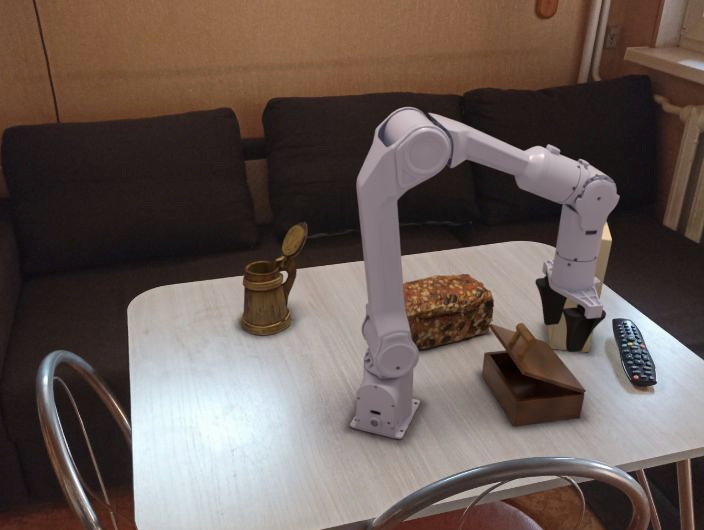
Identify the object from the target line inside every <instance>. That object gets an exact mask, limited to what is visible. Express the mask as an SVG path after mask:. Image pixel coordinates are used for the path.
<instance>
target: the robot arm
mask: <svg viewBox="0 0 704 530" xmlns="http://www.w3.org/2000/svg"><path fill="white" fill-rule="evenodd" d="M427 114H428V115H429V117H430V118H431V120H430V119H429V118H428V117H427V115H426V114H425V113H424V112H423V111H422V110H420V109H418V108H417V107H412V106H405V107H404V106H403V107H400V108H398V109H396V110H394V111H392V112H391V113H390V114H389V115H388V116H387V117H386V118H385V119H384V120H383V121H382V122H381V123H379V125H378V126H377V127H376V128H375V130H374V135H373V141H372V144H371V147H370V149H369V150H368V153H367V155H366V157H365V159H364V162H363V163H362V164H363V165H362V166H361V168H360V171H359V173H358V175H357V178H356V185H355V187H356V195H357V196H356V197H357V206H358V217H359V226H360V234H361V236H360V237H361V244H362V254H363V264H364V266H363V267H364V274H365V285H366V293H367V303H365V316H364V319H363V321H362V323H361V328H360V329H361V330H360V331H361V335H362V338H363V339H364V341H365V342H366V345H367V348H366V351H365V353H364V357H363V377H362V381H361V383H360V385H359V387H358V389H357V391H356V394H355V396H356V397H355V409H356V410H355V415H354V417H353V419H352V420H351V422H350V424H349V426H350V428H352V429H356V430H359V431H364V432H367V433H372V434H374V435H375V434H376V435H379V436H384V437H388V438H393V439H396V440H402V439H404V437H405V434H406V432H407V430H408V428H409V427H410V425H411V422H412V420H413V418H414V417H415V415H416V412H417V411H418V408H419V407H420V405H421V400H419V399H416V398H413V392H414V391H413V390H414V369H415V368H416V367H417V365H418V363H419V360H420V351H419V349H417V347H416V345H415V344H414V342H413V341H412V339H411V333H410V327H409V323H408V319H407V315H406V311H405V304H404V290H403V284H404V278H403V264H402V250H401V236H400V223H399V210H398V209H399V208H398V200H399V199H400V198H401V197H402V196H403V195H404V194H405V193H406V192H407V191H409V190H411V189H413V188H414V187H416V186H418V185H420V184H421V183H423V182H425V181H427V180H429V179H431V178H433V177H434V176H436V175H437V174H439V173H440V172H441V171H442V170H443V169H444V168H445V167H446V165H447V166H448V167H449V169H454V168H456V167H457V166H458V165H461V163H463V162H464V161H466V160H467V161H470V162H473V163H477V164H479V165H483V166H486V167H488V168H491V169H495V170H496V171H500V172H503V173H506V174H509V175H512V176H513V177H514V179H515V183H516V185H517V187H518V188H519V189H520V190H523V191H526V192H528V193H531V194H534V195H536V196H539V197H541V198H544V199H546V200H549V201H551V202H554V203H557V204H560V205H562V207H561V214H560V218H559V219H560V220H559V225H558V232H557V238H556V245H555V252H554V256H553V257H554V258H553V259H547V260H543V264H542V270H541V271H542V273H543V274H544V275H545V276H544V277H540V278H539V277H538V278H536V279H535V281H534V282H535V286H536V288H537V290H538V293H539V297H540V301H541V308H542V309H541V310H542V317H543V318H542V319H543V323H544V325H545V326H547V325H554V324H559V322H560V320H561V317H562V313H563V314H564V317H565V320H566V327H567V335H566V348H567V350H566V352H568V353H575V352H579V351H582V349H583V347H584V345H585V343H586V341H587V339H588V338H589V336H590V334H591V333H592V331H593V332H594V330H595V329H596V327H597V326H598V325H599V324H600V323H601V322H602V321H604V320H605V319H606V318H607V317H606V316H607V312H606V310H604V309H603V308H604V304H603V303H602V302H601V300H599V298H598V295H597V291H596V288H595V287H596V286H599V285H600V280H598V279H597V278H596V277H595V271H596V265H597V260H598V255H599V250H600V244H601V239H602V234H603V228H604V225H606V222H607V220H608V217H609V215H610V214H611V212H612V211H613V210H614V209H615V208H616V206H617V205H618V203H619V200H620V198H621V197H620V195H619V194H618V193H617V192H618V191H617V185H616V183H615V181H614V180H613V178H611V177H610V176H609V175H607V174H605V173H604V172H603V171H601V170H599V169H598V168H596V167H595V166H593V165H591V164H590V163H589V162H588V161H586V160H585V159H581V158H578V160H574V159H572V158H570V157H568V156H565V155H563V154H560V153H561V150H560V149H559V148H558V147H557V146H554V145H553V144H552V145H551V144H547V145H546V147H543V146H541V145H536V146H532V147H530V148H527V149H526V150H522V149H520V148H518V147H515V146H514V145H511V144H509V143H507V142H504V141H502V140H500V139H498V138H496V137H494V136H492V135H489V134H487V133H485V132H483V131H480V130H478V129H475V128H474V127H472V126H469V125H467V124H465V123H462V122H460V121H458V120H455V119H451V118H448V117H446V116H444V115H443V116H442V115H440V114H438V113H437V114H436V113H432V112H427ZM567 298H569V299H570V300H572V301H574V302H576V303H578V305H577V308H576V307H574V308H565V309H564V305H565V302H566V300H567Z"/></svg>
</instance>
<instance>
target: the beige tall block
mask: <svg viewBox="0 0 704 530" xmlns="http://www.w3.org/2000/svg"><path fill="white" fill-rule="evenodd" d="M612 241H613V239H612V235H611V232H610V228H609V225H608V221H606V225H604V228H603V234H602V239H601V244H600V250H599V255H598V260H597V265H596V271H595V277H596V278H597V279H598V280H600V285H599V286H596V287H595V288H596V291H597V295H598V298H599V300H600V299H601V295H602V290H603V287H604V286H603V285H604V280H605V276H606V272H607V267H608V263H609V257H610V253H611V247H612V244H613V243H612ZM600 301H601V300H600ZM577 305H578V303H576V302H574V301H572V300H570V299H569V298H567V300H566V302H565V305H564V309H565V308H574V307H576V308H577ZM546 326H547V327H546V329H547V338H548V344H549V346H550V347H551V348H552V349H553V350H561V351H567V348H566V335H567V327H566V320H565V317H564V314H563V313H562V317H561V320H560V322H559V324H554V325H546ZM593 334H594V330H593V331H592V333H591V334H590V336H589V338H588V339H587V341H586V343H585V345H584V347H583V349H582V351H578V353H579V352H580V353H589V352H590V347H591V343H592V338H593Z"/></svg>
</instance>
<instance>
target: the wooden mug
mask: <svg viewBox="0 0 704 530" xmlns="http://www.w3.org/2000/svg"><path fill="white" fill-rule="evenodd" d="M307 237H308V223H307V222H306V221H304V222H299V223H296V224H295V225H293V226H292V227H290V229H289V230H288V231H287V232H286V234H285V236H284V238H283V241H282V246H281V254H280V256H279V258H276V259H274V260H273V262H272V261H268V260H267V261H266V260H258V261H254V262H251V263H248V264H247V265H246V266H245V268H244V274H243V278H242V286H243V287H244V289H243V290H244V295H243V312H242V316H241V327H242V329H243V330H244V331H245V332H247V333H250V334H253V335H259V336H270V335H274V334H277V333H280V332H282V331H283V330H285V329H288V327H289V326H290V325H291V323H292V317H291V311H290V308H289V307H288V303H289V297H290V293H291V291H292V289H293V286H294V285H295V281H296V278H297V271H298V269H297V264H296V261H295V259H294V257H296V256H297V255H299V253H300V252H301V251H302V249H303V247H304V246H305V243H306V240H307ZM284 271H285V272H286V274H287V277H286V279H285V280H284V274H283V273H282V272H284Z"/></svg>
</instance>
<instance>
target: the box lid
mask: <svg viewBox="0 0 704 530" xmlns="http://www.w3.org/2000/svg"><path fill="white" fill-rule="evenodd" d="M489 327H490V328H489V330H490V331H492V333H493V334H494V336H495V337H496V339H497V340H498V342H499V343H500V344H501V346H502V347H503V349H504V350H506V351H507V353H508V354H509V355H510V357H511V358H512V360H513V361H514V363H515V364H516V365H517V367H518V368H519V370H520V371H521V372H522V374H523V375H526V376H529V377H532V378H535V379H538V380H542V381H545V382H548V383H551V384H555V385H558V386H561V387H564V388H567V389H571V390H574V391H577V392H580V393H584V394H585V393H586V392H587V389H586V388H585V387H584V386H583V385H582V383H581V382H580V381H579V380H578V378H577V377H576V376H575V375H574V374H573V372H571V370H570V369H569V368H568V366H567V365H566V363H564V362H563V360H562V359H561V358H560V357H559V356H558V354H557V353H556V352H555V351H554V349H552V348H551V347H550V346H549V342H547V341H544V340H541V339H538V338H536V337H535V335H534V334H533V333H532V331H530V329H529V328H528V327H527V326H526V325H525V323H523V322H519V323H517V324H516V325H515V330H516V331H515V330H511V329H508V328H505V327H502V326H499V325H496V324H493V323H490V326H489Z"/></svg>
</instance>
